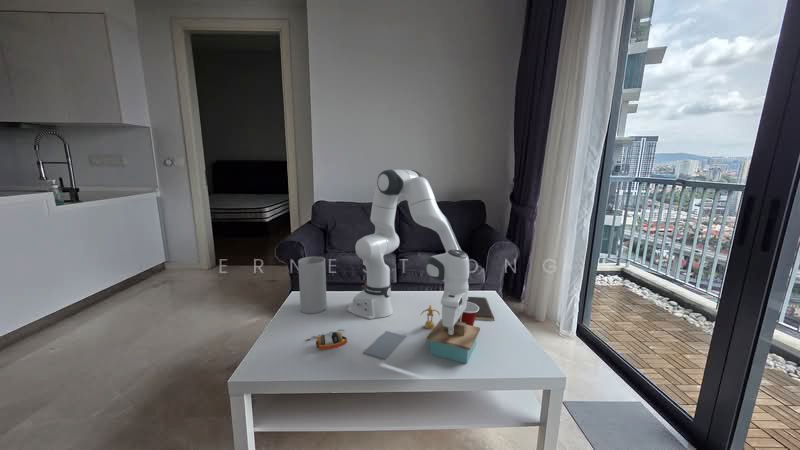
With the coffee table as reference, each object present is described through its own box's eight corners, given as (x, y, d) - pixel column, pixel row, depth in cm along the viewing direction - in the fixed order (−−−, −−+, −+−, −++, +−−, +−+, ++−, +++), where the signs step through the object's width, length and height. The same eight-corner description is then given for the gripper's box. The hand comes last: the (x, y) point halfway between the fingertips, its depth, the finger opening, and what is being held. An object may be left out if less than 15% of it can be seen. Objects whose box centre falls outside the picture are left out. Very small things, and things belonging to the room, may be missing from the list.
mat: (363, 353, 122) (363, 352, 122) (386, 332, 138) (386, 330, 138) (411, 368, 114) (411, 366, 114) (430, 343, 130) (430, 342, 130)
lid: (426, 339, 120) (427, 326, 119) (441, 321, 134) (441, 309, 133) (469, 350, 113) (470, 337, 112) (479, 329, 127) (480, 318, 126)
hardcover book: (459, 320, 151) (459, 315, 151) (455, 300, 174) (455, 296, 173) (494, 321, 150) (494, 317, 149) (486, 301, 172) (486, 297, 172)
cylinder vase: (327, 302, 167) (326, 256, 163) (325, 313, 155) (323, 263, 151) (302, 304, 166) (300, 256, 161) (298, 315, 154) (296, 264, 149)
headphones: (341, 322, 141) (356, 333, 123) (343, 335, 141) (358, 347, 123) (302, 331, 133) (312, 344, 115) (303, 344, 133) (313, 359, 115)
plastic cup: (478, 339, 133) (479, 312, 131) (451, 336, 135) (452, 309, 133) (477, 326, 144) (479, 301, 142) (452, 324, 146) (454, 299, 144)
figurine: (438, 327, 143) (439, 301, 141) (440, 333, 137) (441, 307, 135) (419, 326, 143) (420, 301, 141) (420, 333, 137) (421, 307, 135)
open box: (429, 355, 121) (430, 338, 120) (442, 338, 134) (442, 322, 132) (466, 366, 115) (467, 348, 114) (475, 346, 128) (476, 330, 126)
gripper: (455, 283, 131) (454, 315, 133) (439, 301, 113) (438, 338, 115) (471, 286, 128) (469, 318, 131) (456, 305, 110) (455, 342, 112)
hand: (454, 328), depth 123 cm, fingers open, 8 cm apart
